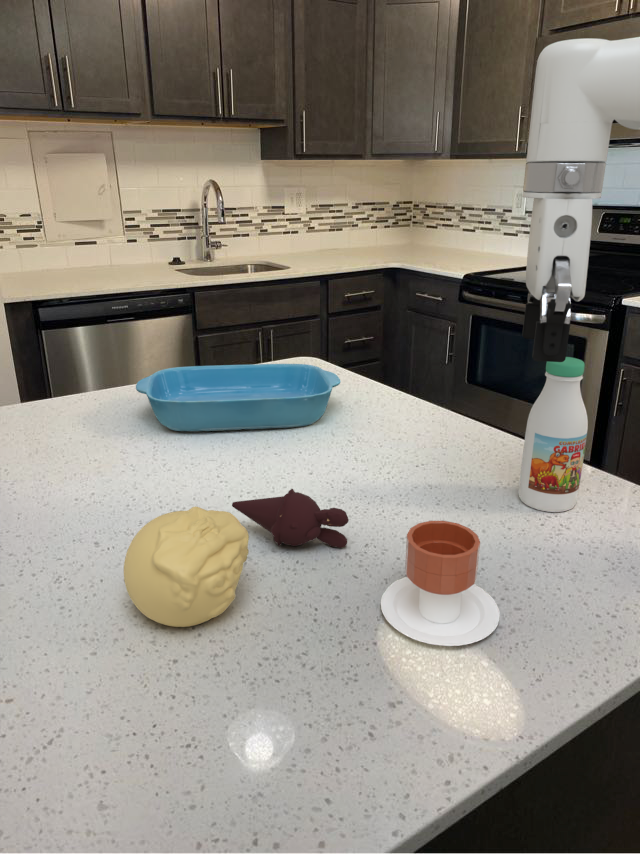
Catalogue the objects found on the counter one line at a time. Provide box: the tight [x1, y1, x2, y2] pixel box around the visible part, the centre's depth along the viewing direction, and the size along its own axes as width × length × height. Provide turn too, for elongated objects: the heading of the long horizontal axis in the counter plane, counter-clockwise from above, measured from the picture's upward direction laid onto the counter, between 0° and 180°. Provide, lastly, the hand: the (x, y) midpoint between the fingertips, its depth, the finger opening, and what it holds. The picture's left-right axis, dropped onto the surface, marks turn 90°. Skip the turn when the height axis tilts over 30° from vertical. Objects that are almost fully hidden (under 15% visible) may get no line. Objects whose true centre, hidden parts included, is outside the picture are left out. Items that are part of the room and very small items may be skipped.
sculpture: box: [123, 506, 250, 628], centre depth 67 cm, size 12×12×11 cm
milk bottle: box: [518, 356, 589, 513], centre depth 88 cm, size 8×8×20 cm
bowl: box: [404, 520, 481, 595], centre depth 66 cm, size 7×7×4 cm
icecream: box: [231, 488, 349, 549], centre depth 80 cm, size 7×7×15 cm
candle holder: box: [380, 576, 501, 647], centre depth 68 cm, size 12×12×4 cm
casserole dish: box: [135, 363, 341, 432], centre depth 122 cm, size 37×22×7 cm, turn 99°
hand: (542, 349), depth 73 cm, fingers open, 9 cm apart
